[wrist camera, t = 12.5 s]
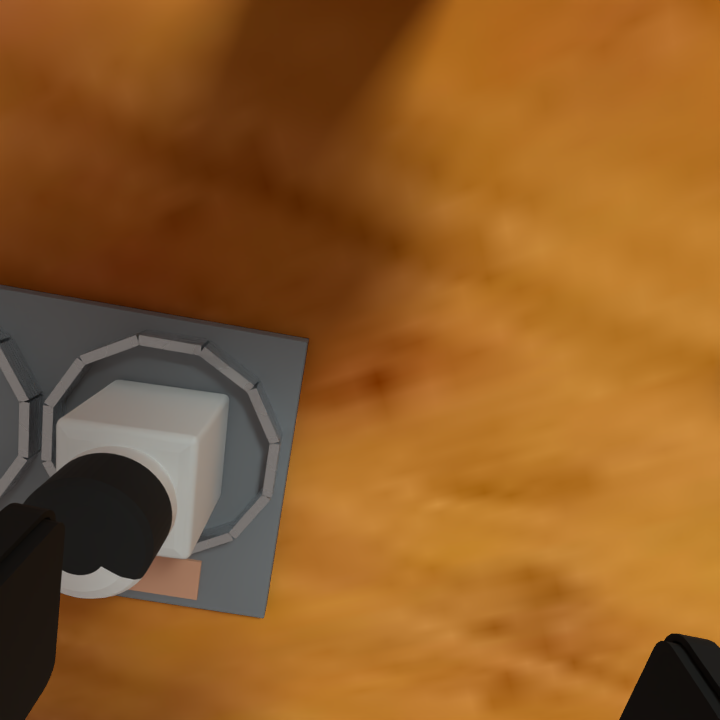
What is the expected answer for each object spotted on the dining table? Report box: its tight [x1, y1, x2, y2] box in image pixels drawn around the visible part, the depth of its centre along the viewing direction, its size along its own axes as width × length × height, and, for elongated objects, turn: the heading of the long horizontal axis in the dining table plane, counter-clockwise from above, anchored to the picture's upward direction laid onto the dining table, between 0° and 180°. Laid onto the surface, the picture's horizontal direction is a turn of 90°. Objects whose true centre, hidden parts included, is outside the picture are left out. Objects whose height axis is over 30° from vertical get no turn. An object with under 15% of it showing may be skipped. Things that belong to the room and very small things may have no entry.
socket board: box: [0, 285, 309, 618], centre depth 36 cm, size 20×30×1 cm, turn 80°
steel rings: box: [0, 328, 283, 554], centre depth 35 cm, size 14×29×2 cm, turn 80°
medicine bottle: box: [23, 380, 229, 599], centre depth 30 cm, size 7×7×12 cm
